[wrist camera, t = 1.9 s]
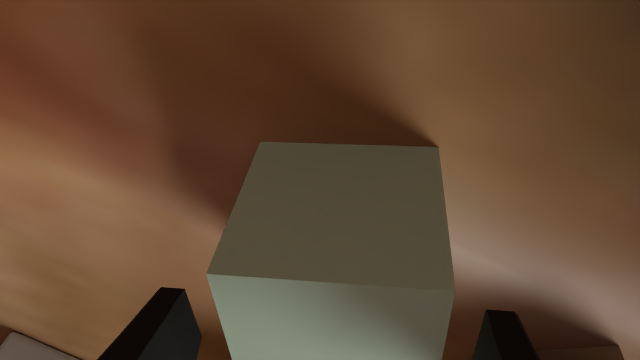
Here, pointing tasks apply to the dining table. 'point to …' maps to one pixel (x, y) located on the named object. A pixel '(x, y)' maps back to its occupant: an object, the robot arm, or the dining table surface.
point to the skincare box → (29, 349)
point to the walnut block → (582, 353)
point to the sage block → (336, 255)
